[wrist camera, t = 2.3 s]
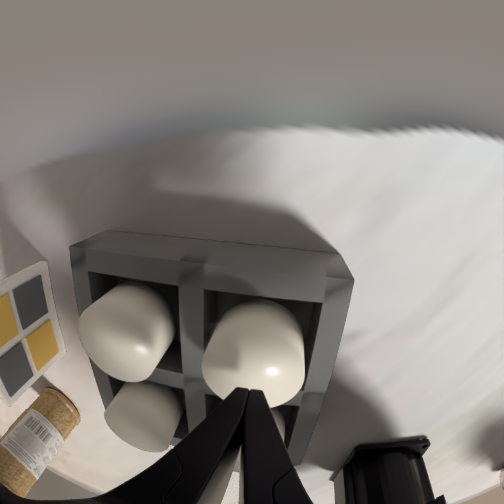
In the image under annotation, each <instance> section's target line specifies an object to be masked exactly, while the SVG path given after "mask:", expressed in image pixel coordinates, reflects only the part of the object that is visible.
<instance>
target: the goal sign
mask: <svg viewBox="0 0 504 504" xmlns="http://www.w3.org/2000/svg"><path fill="white" fill-rule="evenodd" d="M65 352H67V351H66V348H65V344H64V341H63V337H62V333H61V329H60V325H59V321H58V317H57V313H56V308H55V304H54V299H53V294H52V288H51V283H50V277H49V270H48V264H47V261H42V260H41V261H39V262H37V263H35V264H33V265H31V266H29V267H27V268H25V269H23V270H21V271H19V272H17V273H15V274H13V275H11V276H9V277H7V278H5V279H3V280H1V281H0V396H1V398H2V400H3V402H4V403H5V404H6V405H8V406H9V407H10V406H11V405H12V404H13V403H14V402H15V401H16V400H17V399H18V398H19V397H20V396H21V395H22V394H23V393H24V392H25V391H26V390H27V389H28V388H29V387H30V386H31V385H32V384H33V383H34V382H35V381H36V380H37V379H38V378H39V377H40V376H41V375H42V374H43V373H44V372H45V371H47V370H48V369H49V368H50V367H51V366H52V365H53V364H54V363H55V362H56V361H57V360H58V359H59V358H60V357H61V356H62V355H63V354H64V353H65Z"/></svg>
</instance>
